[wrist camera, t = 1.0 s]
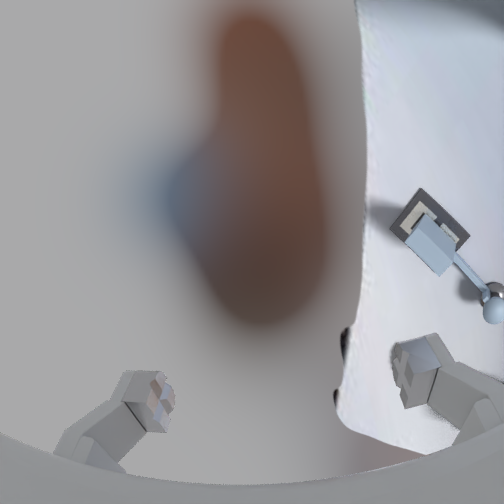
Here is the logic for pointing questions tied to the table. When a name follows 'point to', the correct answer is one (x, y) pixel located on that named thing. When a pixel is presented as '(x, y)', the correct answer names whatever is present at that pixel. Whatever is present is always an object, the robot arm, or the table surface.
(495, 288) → the pivot post
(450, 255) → the swing arm
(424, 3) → the table surface
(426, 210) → the label panel
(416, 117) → the table surface
